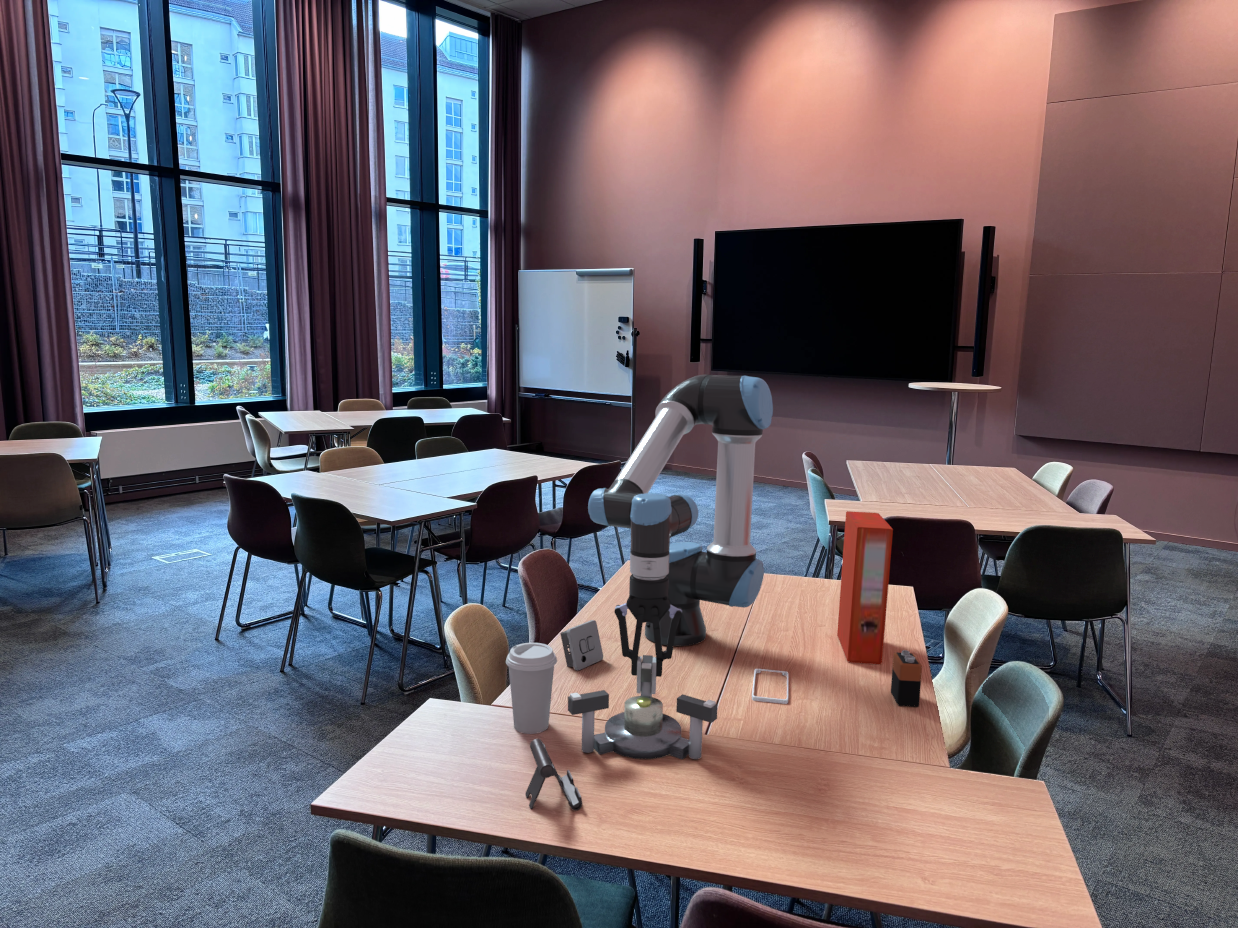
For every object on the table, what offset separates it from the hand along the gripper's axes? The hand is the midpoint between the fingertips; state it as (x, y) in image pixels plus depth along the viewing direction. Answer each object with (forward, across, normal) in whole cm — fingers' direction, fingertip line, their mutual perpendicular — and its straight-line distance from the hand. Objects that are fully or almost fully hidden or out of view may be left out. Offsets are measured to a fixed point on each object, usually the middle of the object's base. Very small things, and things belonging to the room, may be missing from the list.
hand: (646, 690), depth 162 cm
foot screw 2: (+5, 0, 0) cm, 5 cm away
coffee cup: (+5, -21, -8) cm, 23 cm away
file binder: (+5, +49, +40) cm, 64 cm away
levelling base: (+5, +1, -12) cm, 13 cm away
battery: (+5, +53, +13) cm, 55 cm away
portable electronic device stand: (+5, -13, -32) cm, 35 cm away
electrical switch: (+5, -16, +24) cm, 29 cm away
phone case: (+5, +26, +16) cm, 31 cm away
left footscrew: (+5, +10, -16) cm, 20 cm away
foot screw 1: (+5, -10, -16) cm, 20 cm away
